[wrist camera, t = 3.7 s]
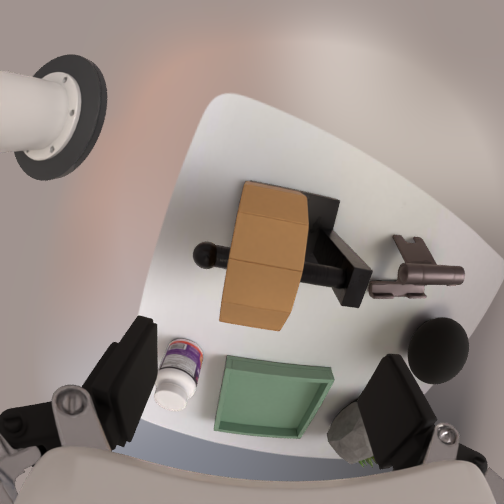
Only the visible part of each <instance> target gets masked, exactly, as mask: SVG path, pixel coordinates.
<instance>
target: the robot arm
mask: <svg viewBox="0 0 504 504" xmlns="http://www.w3.org/2000/svg"><path fill="white" fill-rule="evenodd" d="M80 111H81V92H80V88H79V85H78V83H77V81H76V80H75V79H74V78H73V77H72V76H70V75H69V74H66V73H63V72H54V73H51V74H48V75H46V76H45V77H43V78H42V79H40V78H36V77H31V76H27V75H21V74H17V73H12V72H6V71H0V153H6V152H15V151H24V152H25V154H26V155H27V156H28V157H29V158H31V159H33V160H38V161H40V160H47V159H50V158H52V157H54V156H56V155H57V154H58V153H59V152H61V151H62V150H63V148H64V147H65V146H66V145H67V144H68V142H69V140H70V139H71V137H72V135H73V133H74V131H75V129H76V126H77V123H78V120H79V116H80ZM157 375H158V361H157V324H156V323H153V319H151V318H147V317H143V316H138V317H137V318H136V319H135V321H134V322H133V323H132V325H131V326H130V328H129V329H128V331H127V332H126V333H125V335H124V336H123V338H122V339H121V341H120V342H119V343H117V342H113V343H112V344H111V345H110V346H109V347H108V349H107V350H106V352H105V353H104V355H103V356H102V358H101V359H100V360H99V362H98V363H97V365H96V366H95V368H94V369H93V371H92V372H91V374H90V375H89V377H88V378H87V380H86V381H85V383H84V384H83V386H82V387H80V386H76V385H65V386H62V387H60V388H58V389H57V390H56V391H55V392H54V393H53V396H52V401H51V402H46V403H40V404H35V405H29V406H24V407H17V408H11V409H7V410H5V411H4V412H2V414H1V415H0V504H504V480H503V479H502V478H501V477H500V476H498V475H497V474H496V473H495V472H494V471H493V470H492V469H491V468H488V469H487V461H486V458H485V457H484V456H483V455H482V454H480V453H478V452H476V451H474V450H472V449H470V448H468V447H466V446H464V445H462V444H460V443H459V439H460V436H459V433H458V431H457V430H456V429H455V427H453V426H452V425H451V424H448V423H439V424H438V425H436V426H435V425H434V423H435V422H436V421H437V418H436V416H435V414H434V413H433V411H432V409H431V407H430V405H429V403H428V401H427V400H426V398H425V396H424V394H423V392H422V391H421V389H420V387H419V385H418V384H417V382H416V380H415V378H414V377H413V375H412V373H411V372H410V370H409V368H408V367H407V365H406V363H405V362H404V360H403V358H402V357H401V355H399V354H387V355H386V356H385V357H383V358H382V359H381V361H380V363H379V365H378V367H377V368H376V370H375V372H374V374H373V375H372V377H371V379H370V380H369V382H368V384H367V385H366V387H365V389H364V390H363V392H362V394H361V395H360V397H359V399H358V408H359V411H360V414H361V417H362V420H363V423H364V427H365V430H366V433H367V436H368V439H369V443H370V446H371V449H372V453H373V456H374V459H375V462H376V463H377V464H378V465H379V468H380V469H385V468H390V467H391V466H393V471H392V472H387V473H382V474H376V475H370V476H363V477H356V478H348V479H338V480H326V481H302V482H300V481H295V482H294V481H293V482H292V481H290V482H288V481H260V480H247V479H237V478H229V477H221V476H214V475H208V474H202V473H197V472H191V471H186V470H181V469H177V468H172V467H168V466H164V465H160V464H156V463H152V462H149V461H145V460H141V459H137V458H134V457H130V456H127V455H123V454H119V453H115V452H112V450H114V449H115V448H116V445H119V446H122V447H124V446H125V444H126V441H128V442H131V440H132V438H133V436H134V433H135V431H136V428H137V426H138V423H139V420H140V418H141V416H142V413H143V411H144V408H145V406H146V403H147V401H148V398H149V396H150V394H151V391H152V389H153V386H154V384H155V382H156V379H157ZM30 466H32V467H33V468H32V470H31V471H30V473H29V475H28V476H27V478H26V480H25V482H24V483H23V485H22V487H21V490H20V491H19V494H18V493H17V491H16V488H15V481H16V478H17V477H18V476H19V475H21V474H22V473H24V472H25V471H24V469H26V468H28V467H30Z"/></svg>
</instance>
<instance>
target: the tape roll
mask: <svg viewBox="0 0 504 504" xmlns="http://www.w3.org/2000/svg"><path fill="white" fill-rule="evenodd" d="M308 225H309V222H308V206H307V197H306V196H305V195H303V194H302V193H301V192H298V191H294V190H289V189H285V188H280V187H275V186H270V185H265V184H260V183H255V182H249V181H246V182H245V184H244V186H243V191H242V195H241V199H240V204H239V208H238V213H237V218H236V223H235V228H234V233H233V238H232V243H231V248H230V253H229V259H228V265H227V271H226V276H225V282H224V289H223V295H222V301H221V309H220V317H219V321H220V322H225V323H231V324H237V325H242V326H248V327H255V328H261V329H267V330H274V331H280V330H281V328H282V327H283V325H284V323H285V322H286V320H287V318H288V317H289V315H290V313H291V311H292V307H293V304H294V300H295V297H296V294H297V290H298V287H299V283H300V280H301V276H302V271H303V266H304V259H305V252H306V244H307V236H308V228H309V227H308Z"/></svg>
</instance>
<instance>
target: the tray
mask: <svg viewBox="0 0 504 504" xmlns="http://www.w3.org/2000/svg"><path fill="white" fill-rule="evenodd" d="M333 382H334V376H333V373H332V370H331V368H329V367H315V366H304V365H294V364H285V363H276V362H268V361H261V360H254V359H247V358H241V357H235V356H229V355H227V359H226V365H225V370H224V375H223V381H222V386H221V391H220V396H219V402H218V407H217V412H216V418H215V424H214V431H220V432H226V433H233V434H241V435H250V436H260V437H273V438H293V439H300V438H301V437H302V435H303V434H304V432H305V430H306V429H307V427H308V426H309V424H310V422H311V421H312V419H313V417H314V416H315V414H316V412H317V411H318V409H319V407H320V406H321V404H322V402H323V400H324V399H325V397H326V395H327V393H328V391H329V389H330V388H331V386H332V384H333Z"/></svg>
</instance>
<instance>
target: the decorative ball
mask: <svg viewBox="0 0 504 504" xmlns="http://www.w3.org/2000/svg"><path fill="white" fill-rule="evenodd" d="M468 352H469V342H468V337H467V334H466V332H465V330H464V329H463V327H462V326H461V325H460V324H459V323H458V322H456V321H455V320H452V319H450V318H443V317H442V318H435V319H432V320H429V321H427V322H426V323H424V324H423V325H422V326H421V327H419V329H418V330H417V331H416V332H415V334H414V335H413V337H412V339H411V341H410V344H409V348H408V362H409V366H410V369H411V371H412V372H413V374H414V375H415V376H416V377H417V378H418V379H419V380H421V381H423V382H425V383H428V384H441V383H444V382H447V381H449V380H450V379H452V378H453V377H455V376H456V375H457V374H458V373H459V371H460V370H461V369H462V368H463V366H464V364H465V362H466V360H467V357H468Z"/></svg>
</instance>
